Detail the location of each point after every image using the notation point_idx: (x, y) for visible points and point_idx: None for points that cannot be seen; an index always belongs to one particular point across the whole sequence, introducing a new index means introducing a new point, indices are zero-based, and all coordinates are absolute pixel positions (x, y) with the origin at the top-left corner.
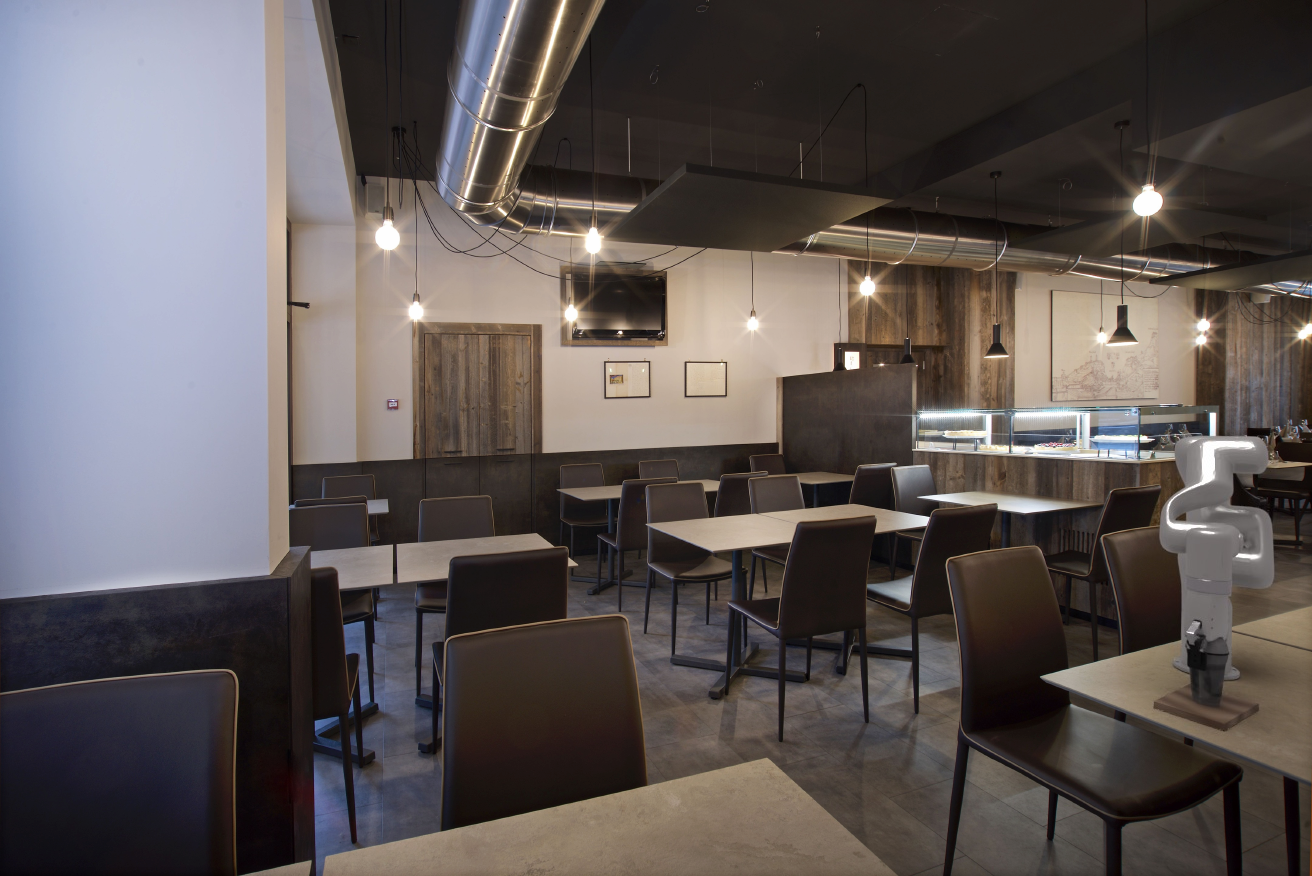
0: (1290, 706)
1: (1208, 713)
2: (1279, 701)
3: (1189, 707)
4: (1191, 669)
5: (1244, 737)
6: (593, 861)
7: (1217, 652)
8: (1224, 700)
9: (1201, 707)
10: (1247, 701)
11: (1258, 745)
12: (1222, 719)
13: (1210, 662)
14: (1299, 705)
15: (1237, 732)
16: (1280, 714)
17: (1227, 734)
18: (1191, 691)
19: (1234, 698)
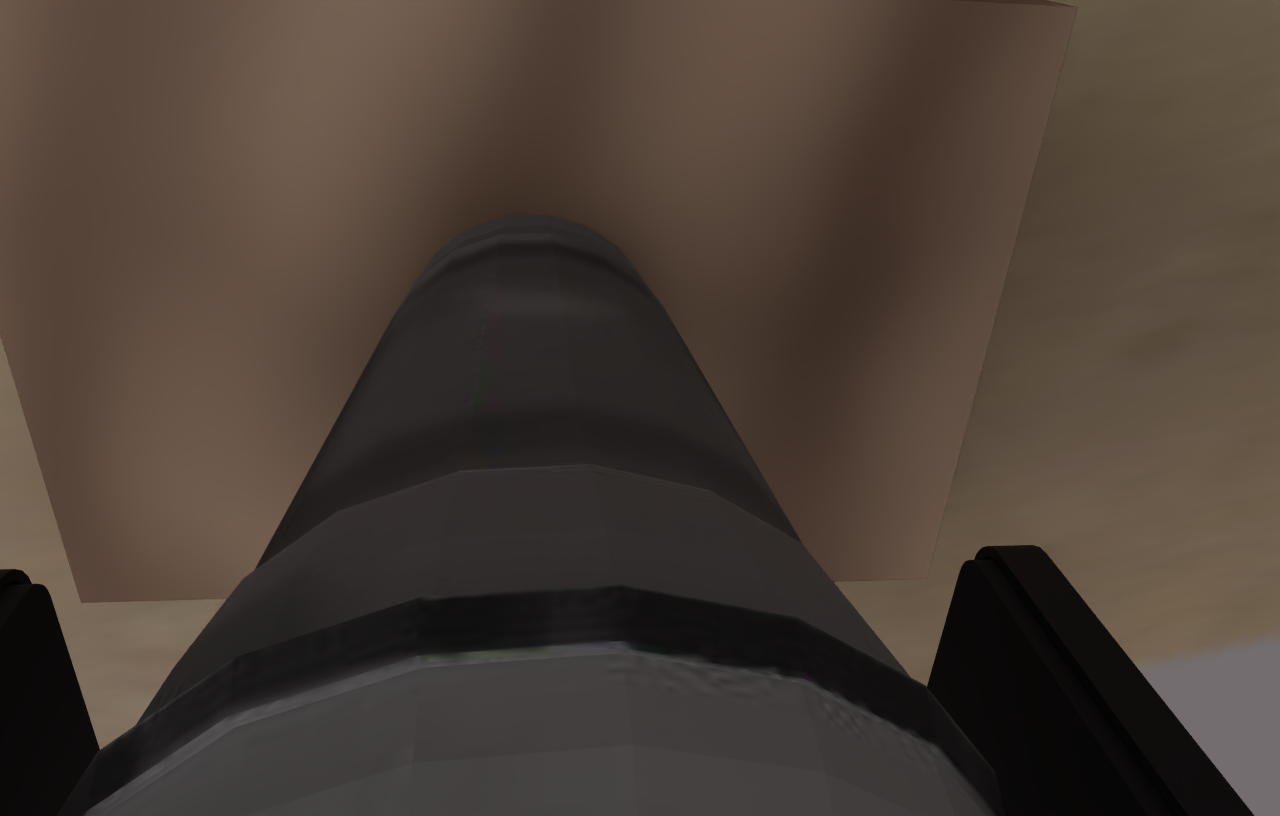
0: (1179, 614)
1: (200, 454)
2: (1251, 550)
3: (170, 294)
4: (328, 445)
5: (155, 657)
6: None
7: None
8: (753, 413)
9: (304, 364)
10: (898, 523)
11: (102, 738)
12: (180, 561)
13: None
14: (1246, 635)
15: (207, 605)
16: (932, 631)
17: (71, 585)
18: (455, 253)
19: (893, 444)
